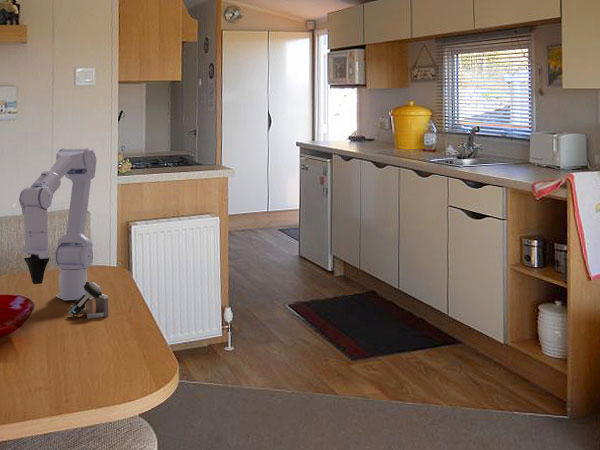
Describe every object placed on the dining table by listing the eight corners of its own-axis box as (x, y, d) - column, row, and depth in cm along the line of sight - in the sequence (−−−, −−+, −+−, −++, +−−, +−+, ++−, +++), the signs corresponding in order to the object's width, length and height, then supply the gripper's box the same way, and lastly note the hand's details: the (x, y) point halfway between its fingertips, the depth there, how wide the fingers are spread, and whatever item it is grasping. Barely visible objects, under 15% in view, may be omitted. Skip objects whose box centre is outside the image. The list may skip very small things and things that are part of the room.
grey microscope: (77, 322, 188) (103, 294, 188) (61, 310, 187) (87, 281, 187) (80, 317, 194) (105, 290, 195) (65, 305, 193) (90, 277, 194)
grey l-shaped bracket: (77, 314, 196) (77, 293, 196) (97, 312, 199) (97, 291, 199) (88, 318, 189) (87, 297, 188) (108, 316, 192) (108, 295, 192)
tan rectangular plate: (85, 313, 196) (85, 297, 196) (88, 313, 196) (88, 297, 196) (92, 316, 191) (92, 300, 191) (95, 316, 191) (95, 299, 191)
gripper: (13, 231, 192) (15, 281, 192) (27, 234, 180) (28, 287, 180) (40, 230, 196) (41, 279, 196) (55, 233, 184) (56, 285, 184)
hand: (37, 283), depth 189 cm, fingers closed
